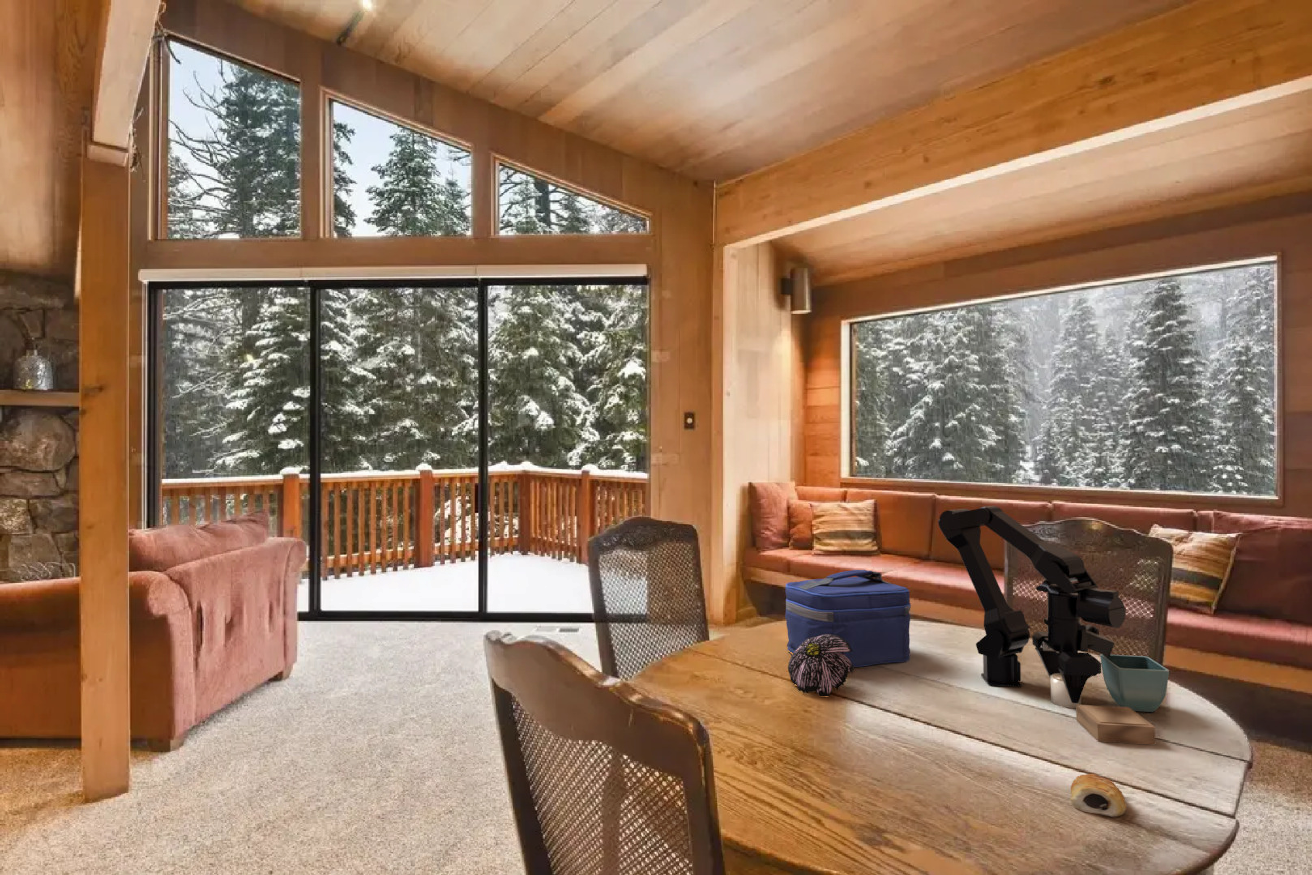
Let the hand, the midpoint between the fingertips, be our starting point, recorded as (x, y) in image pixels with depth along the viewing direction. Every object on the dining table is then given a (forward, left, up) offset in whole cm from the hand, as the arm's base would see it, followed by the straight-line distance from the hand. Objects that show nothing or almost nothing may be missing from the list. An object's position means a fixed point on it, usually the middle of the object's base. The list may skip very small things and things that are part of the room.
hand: (1065, 694), depth 137 cm
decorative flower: (-48, +3, -2) cm, 48 cm away
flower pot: (+12, -1, -2) cm, 12 cm away
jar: (0, 0, -2) cm, 2 cm away
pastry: (-11, -40, -2) cm, 41 cm away
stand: (+3, -14, -2) cm, 14 cm away
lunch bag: (-40, +26, -2) cm, 48 cm away
